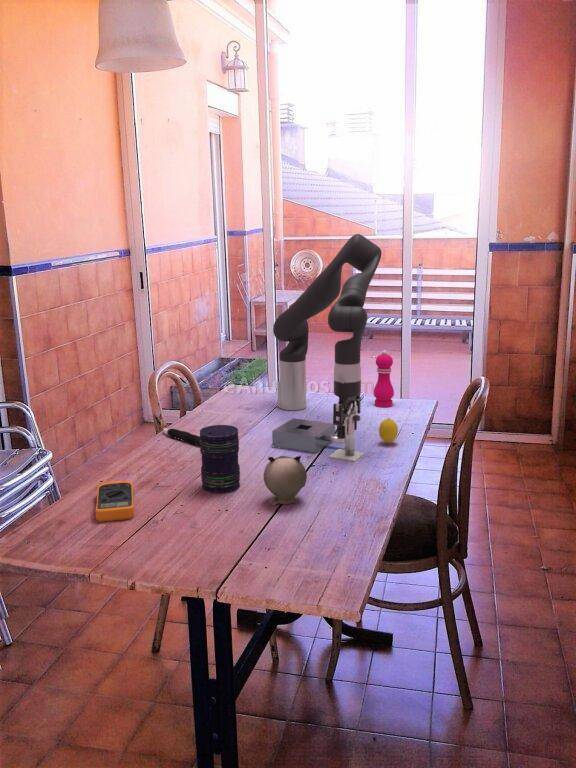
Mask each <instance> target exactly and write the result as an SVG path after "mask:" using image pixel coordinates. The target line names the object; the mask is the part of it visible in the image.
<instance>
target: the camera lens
mask: <svg viewBox="0 0 576 768" xmlns="http://www.w3.org/2000/svg"><path fill="white" fill-rule="evenodd" d="M199 435H200V446H199V451H200V455H201V468H200V472H201V473H200V474H201V475H200V478H201V483H202V484H201V489H202V490H203V491H204V492H206V493H209V494H215V495H223V494H224V495H225V494H229V493H233V492H236V491H237V490H239V489H240V487H241V483H240V480H241V466H240V464H239V451H240V439H239V428H238V427H236V426H233V425H229V424H215V425H209V426H205V427H202V428H201V429H200V430H199ZM238 488H239V489H238ZM235 490H236V491H235Z"/></svg>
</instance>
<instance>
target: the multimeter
mask: <svg viewBox="0 0 576 768" xmlns="http://www.w3.org/2000/svg"><path fill="white" fill-rule="evenodd" d="M96 493H97V494H96V495H97V497H96V505H95V508H94V509H95V510H94V511H95V519H96V520H97V522H100V523H104V521H106V522H114V520H115V521H123V520H124V521H125V520H131V519H133V518H134V516H135V507H134V484H133V482H131V481H127V480H118V481H117V480H115V481H107V482H104V483H101V484H99V485H98V486H97V492H96Z"/></svg>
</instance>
